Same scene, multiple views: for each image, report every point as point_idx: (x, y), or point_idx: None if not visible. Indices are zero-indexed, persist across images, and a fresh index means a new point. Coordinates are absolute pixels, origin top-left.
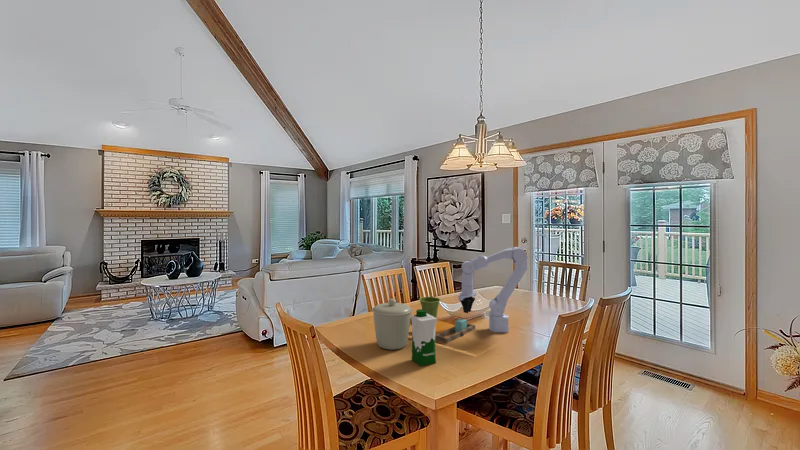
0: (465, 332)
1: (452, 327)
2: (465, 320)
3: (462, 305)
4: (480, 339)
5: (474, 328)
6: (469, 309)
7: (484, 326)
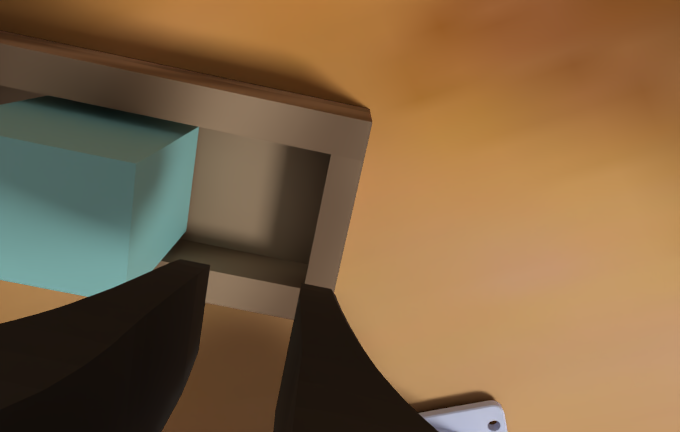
0: None
1: (14, 53)
2: (78, 288)
3: (40, 326)
4: None
5: None
6: (278, 399)
7: (576, 335)
